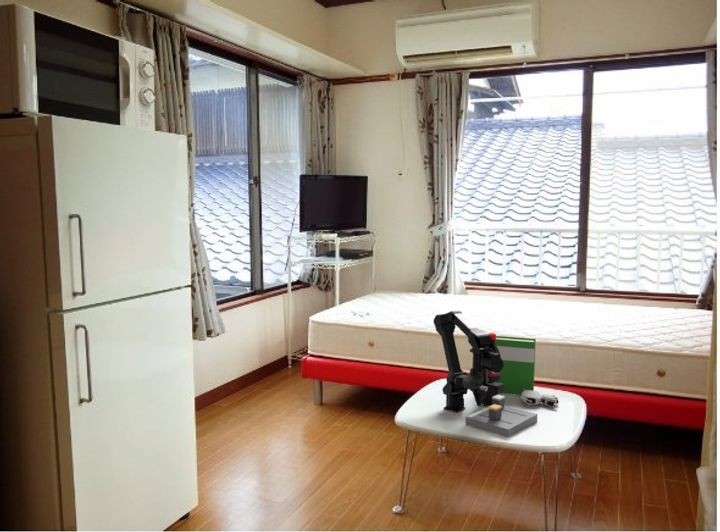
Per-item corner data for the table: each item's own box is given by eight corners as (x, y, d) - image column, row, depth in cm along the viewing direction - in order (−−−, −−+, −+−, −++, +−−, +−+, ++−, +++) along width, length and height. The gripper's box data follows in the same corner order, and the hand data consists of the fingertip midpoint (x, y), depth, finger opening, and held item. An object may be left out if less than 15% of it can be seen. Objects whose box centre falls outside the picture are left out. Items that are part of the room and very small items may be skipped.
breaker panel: (465, 424, 226) (465, 416, 226) (495, 410, 242) (495, 403, 242) (508, 437, 214) (508, 429, 214) (537, 421, 230) (537, 413, 230)
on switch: (491, 408, 235) (492, 397, 235) (497, 405, 238) (497, 394, 238) (499, 410, 233) (499, 398, 233) (504, 407, 236) (504, 396, 236)
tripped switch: (488, 418, 224) (488, 406, 223) (494, 415, 227) (494, 404, 226) (495, 420, 222) (496, 408, 221) (501, 417, 225) (502, 406, 224)
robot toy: (557, 403, 255) (521, 397, 259) (558, 393, 254) (522, 387, 258) (557, 413, 243) (519, 406, 247) (559, 402, 242) (520, 395, 247)
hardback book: (533, 391, 268) (535, 338, 265) (532, 396, 261) (534, 342, 258) (493, 387, 273) (494, 335, 271) (491, 392, 266) (493, 338, 264)
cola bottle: (503, 406, 248) (505, 334, 245) (486, 408, 245) (488, 336, 242) (491, 399, 256) (493, 330, 252) (474, 402, 252) (476, 331, 249)
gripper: (447, 365, 228) (446, 405, 229) (490, 375, 215) (489, 417, 217) (463, 359, 236) (462, 398, 237) (506, 369, 223) (504, 409, 225)
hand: (478, 405), depth 229 cm, fingers closed
